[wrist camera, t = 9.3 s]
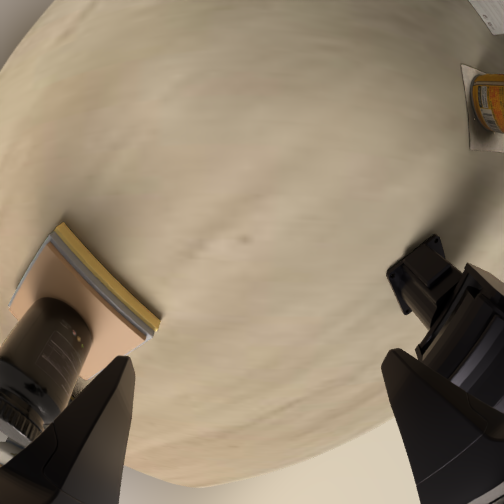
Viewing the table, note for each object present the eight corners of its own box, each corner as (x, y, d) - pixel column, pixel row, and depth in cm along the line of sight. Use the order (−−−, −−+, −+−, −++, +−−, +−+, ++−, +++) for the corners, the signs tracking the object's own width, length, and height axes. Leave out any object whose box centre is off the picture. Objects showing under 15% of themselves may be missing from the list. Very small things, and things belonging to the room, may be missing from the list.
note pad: (160, 320, 23) (154, 340, 21) (94, 367, 25) (87, 383, 23) (63, 221, 18) (47, 233, 16) (17, 294, 21) (5, 308, 19)
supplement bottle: (58, 354, 21) (15, 447, 10) (23, 299, 18) (-43, 390, 7) (107, 350, 21) (67, 466, 10) (70, 287, 18) (-6, 403, 7)
